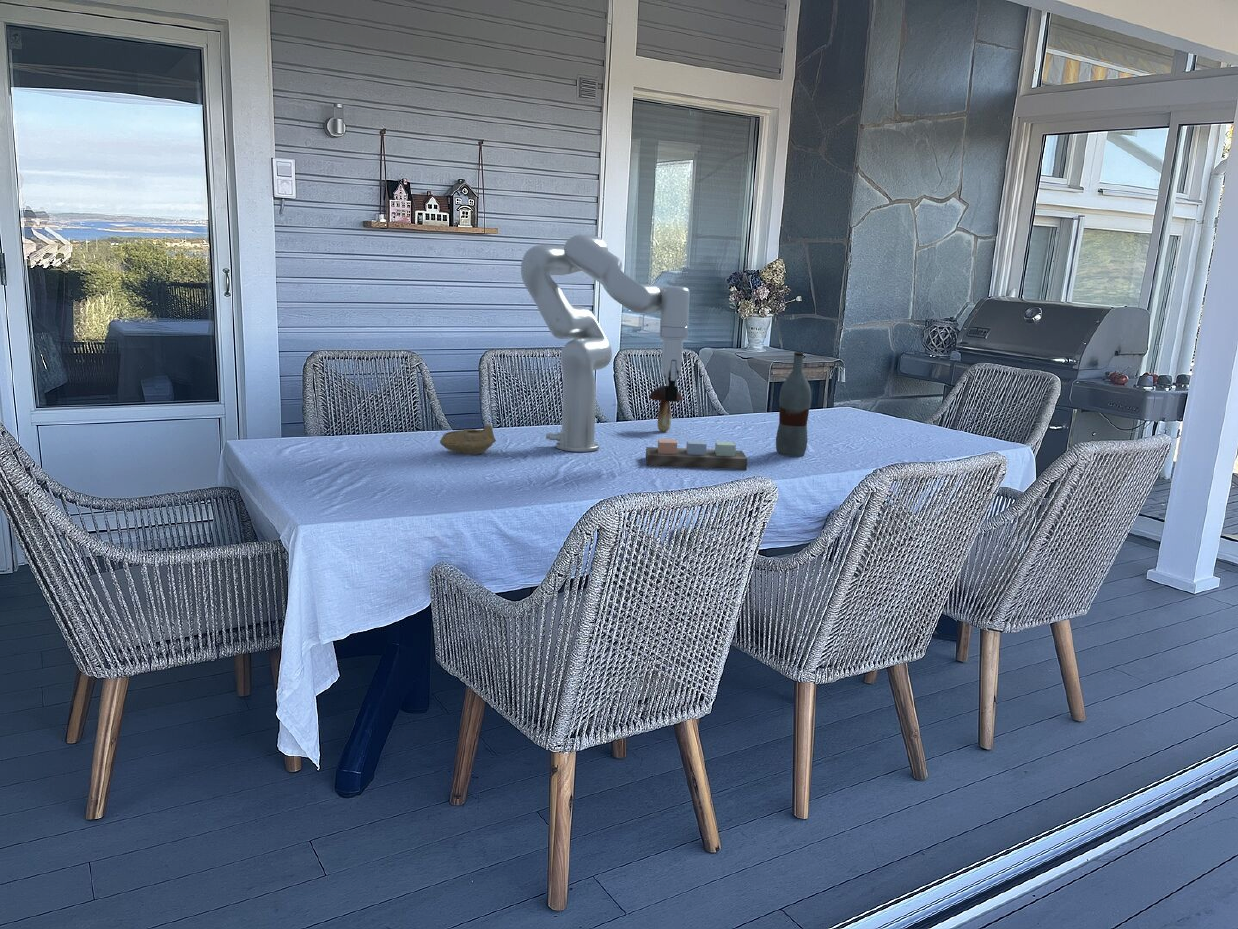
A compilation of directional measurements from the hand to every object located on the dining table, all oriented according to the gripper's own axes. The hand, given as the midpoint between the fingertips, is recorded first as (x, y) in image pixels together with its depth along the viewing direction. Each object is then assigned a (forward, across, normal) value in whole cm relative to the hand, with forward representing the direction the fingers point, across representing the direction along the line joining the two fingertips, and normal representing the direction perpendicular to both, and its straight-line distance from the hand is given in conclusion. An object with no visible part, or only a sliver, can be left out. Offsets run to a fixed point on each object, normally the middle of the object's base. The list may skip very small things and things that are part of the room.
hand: (670, 400), depth 263 cm
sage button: (+16, 0, +16) cm, 22 cm away
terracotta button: (+16, 0, 0) cm, 16 cm away
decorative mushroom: (+17, -47, +2) cm, 50 cm away
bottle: (+18, -19, +38) cm, 46 cm away
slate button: (+16, 0, +8) cm, 17 cm away
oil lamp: (+17, -2, -55) cm, 58 cm away
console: (+17, 0, +8) cm, 19 cm away
